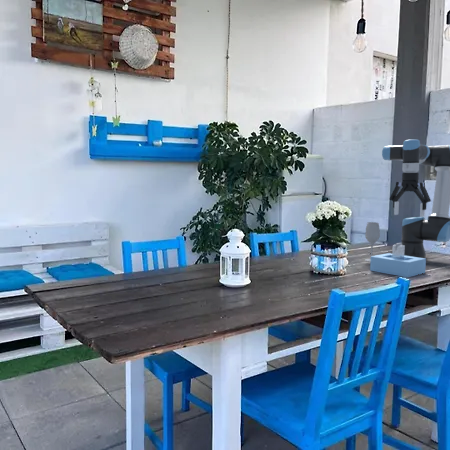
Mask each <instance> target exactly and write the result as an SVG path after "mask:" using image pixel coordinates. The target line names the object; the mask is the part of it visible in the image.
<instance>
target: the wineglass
mask: <svg viewBox="0 0 450 450" xmlns="http://www.w3.org/2000/svg"><path fill="white" fill-rule="evenodd" d="M379 224H380V223H379V222H373V221H371V222H367V223H366V227H365V233H364V234H365V235H364V236H365V239H366V241H367V242H368V243H369V244H370V248H371V249H370V250H371V251H370V257H369V258H366V259H364V261H365V262H369V263H370V262H371V256H373V249H374V248H373V247H374V244H375V243H377V242H378V241H379V240H380V237H381V232H380V225H379Z"/></svg>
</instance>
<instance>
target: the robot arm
mask: <svg viewBox="0 0 450 450" xmlns="http://www.w3.org/2000/svg"><path fill="white" fill-rule="evenodd" d="M402 143H403V144H402V145H399V144H398V145H385V146H384V147H382V151H381V156H382V159H383V160H385V161H401V162H402V169H401V170H402V173H401V180H402V182H401V181H396V182H395V186H394V189H393V191H392V193H391V194H390V197H389V200H390V201H392V208H393V211H394V212H393V216H397V215H399V213H400V212H399V211H400V210H399V208H400V207H399V206H400V202H399V200H400V198H401V197H402V196H403V195H404V193H405V192H413V193H415V195H416V196H417V197H418V199H419V200H420V202H421V203H420V208H419V209H420V211H419V216H417V217H416V216H414V217H406V218H403V219H402V222H401V223H402V224H401V242H400V243H402V245H405V250H404V255H405V256H412V257H418V258H425V259H427V254H426V251H425V250H426V249H425V246H424V241H426V242H427V241H428V242H438V243H448V241H450V216H449V214H450V144H445V145H442V144H440V145H426V144H423V143H421V141H420V140H419V139H406V140H404V141H403V142H402ZM421 165H422V166H425V167H426V166H427V167H434V170H435V171H436V177H435V184H434V185H435V186H434V192H433V198H432V199H433V200H432V199H431V197H430V195H429V193H428V190H427V188H426V183H425V182H424V181H423V182H422V181H421V182H419V179H420V178H419V177H420V175H419V174H420V173H419V171H420V166H421ZM401 187H402V188H401ZM431 201H432V208H431V213H430V214H429V215H428V217H427V219H425V212H426V210H427V204H428V203H430V202H431Z"/></svg>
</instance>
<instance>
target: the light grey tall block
mask: <svg viewBox="0 0 450 450" xmlns="http://www.w3.org/2000/svg"><path fill="white" fill-rule="evenodd" d="M404 250H405V245H402V243H401V242H397V243H395V244H392V251H391V252H392V253H391V254H392V258H396V259H402V260H404Z"/></svg>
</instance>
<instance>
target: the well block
mask: <svg viewBox="0 0 450 450" xmlns="http://www.w3.org/2000/svg"><path fill="white" fill-rule="evenodd" d="M370 258H371V262H369V263H370V269H369V271H372V272H376V273H377V272H378V273H383V274H388V275H395V276H399V277H405V278H410V277H416V276H417V275H418V274H419V275H421V274H422V273H423V274H425V273H426V264H427V258H418V257H412V256H405V255H404V260H402V259H396V258H392V253H391V252H387V253H383V254H382V253H381V254H376V255H372V256H371V255H370Z"/></svg>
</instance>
